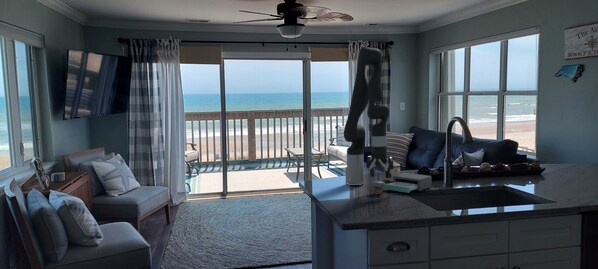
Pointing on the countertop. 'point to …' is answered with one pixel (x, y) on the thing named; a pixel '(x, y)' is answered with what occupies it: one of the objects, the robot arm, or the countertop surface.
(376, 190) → the pedestal
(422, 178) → the player housing
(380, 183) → the disc
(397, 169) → the teacup with lid
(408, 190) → the tray
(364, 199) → the countertop surface
